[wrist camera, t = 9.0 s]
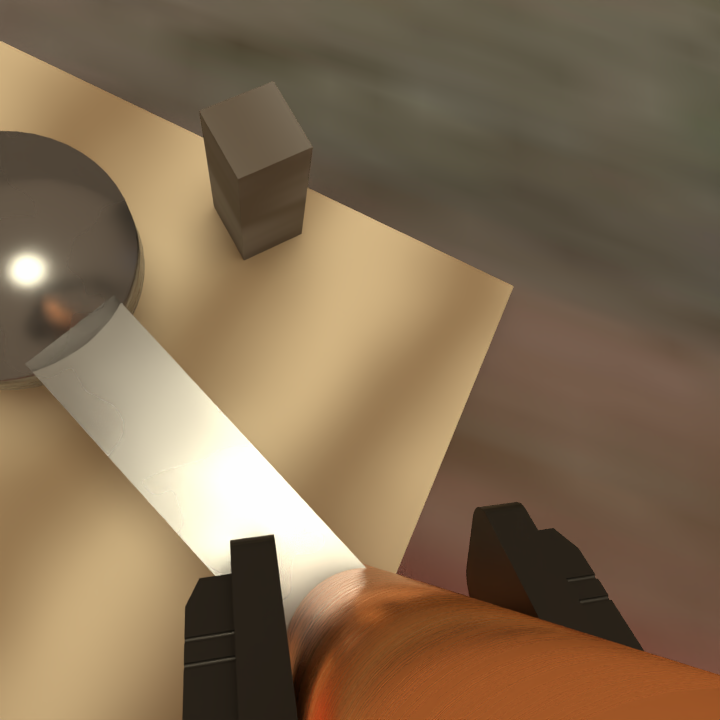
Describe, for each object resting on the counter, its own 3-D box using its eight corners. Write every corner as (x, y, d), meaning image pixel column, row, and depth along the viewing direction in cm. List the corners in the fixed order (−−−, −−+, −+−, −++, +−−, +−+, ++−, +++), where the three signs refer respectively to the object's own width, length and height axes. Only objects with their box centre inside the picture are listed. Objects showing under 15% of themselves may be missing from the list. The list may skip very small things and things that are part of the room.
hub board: (507, 292, 22) (583, 216, 17) (188, 1066, 16) (152, 1328, 11) (7, 54, 22) (-76, -101, 17) (-509, 753, 16) (-900, 866, 11)
